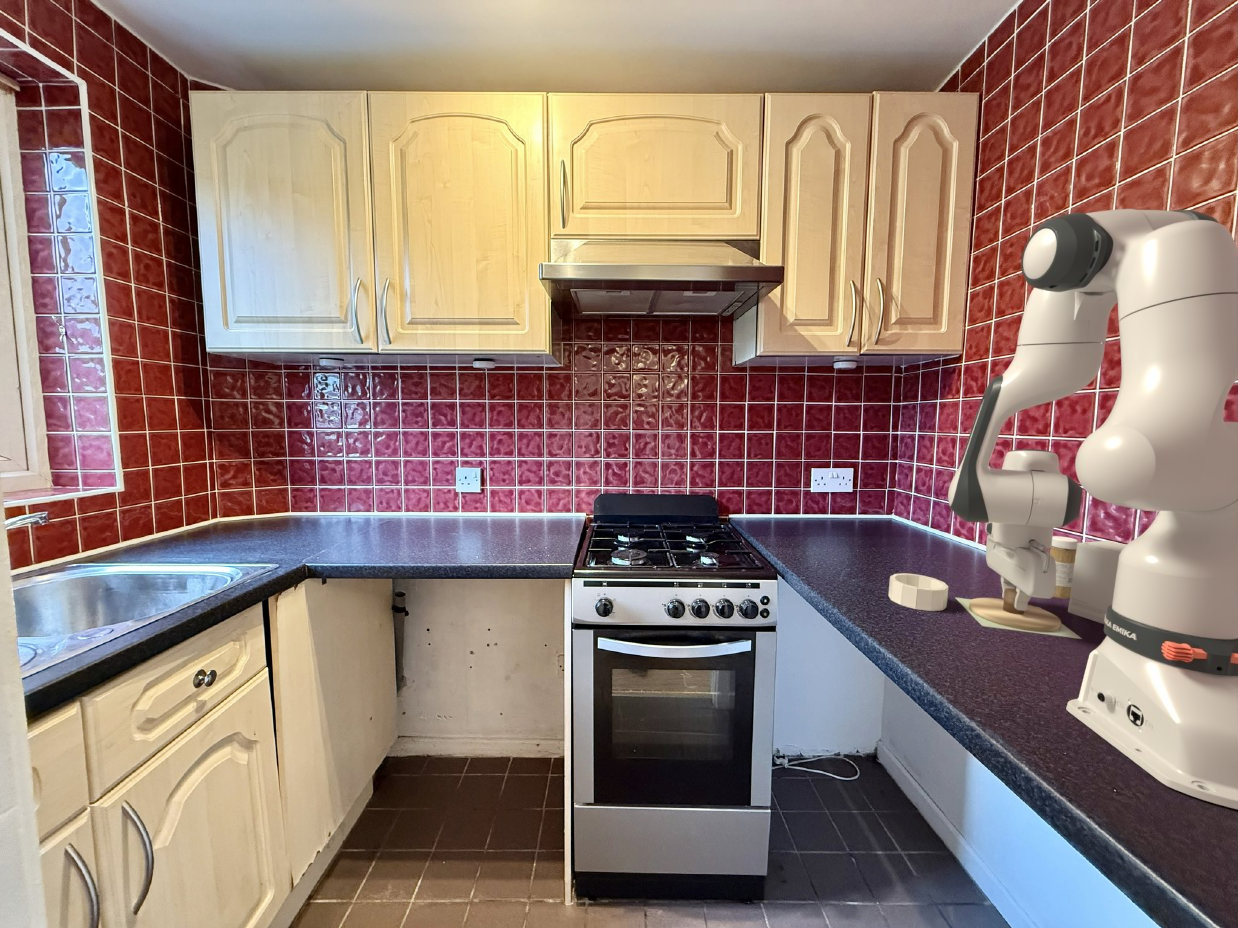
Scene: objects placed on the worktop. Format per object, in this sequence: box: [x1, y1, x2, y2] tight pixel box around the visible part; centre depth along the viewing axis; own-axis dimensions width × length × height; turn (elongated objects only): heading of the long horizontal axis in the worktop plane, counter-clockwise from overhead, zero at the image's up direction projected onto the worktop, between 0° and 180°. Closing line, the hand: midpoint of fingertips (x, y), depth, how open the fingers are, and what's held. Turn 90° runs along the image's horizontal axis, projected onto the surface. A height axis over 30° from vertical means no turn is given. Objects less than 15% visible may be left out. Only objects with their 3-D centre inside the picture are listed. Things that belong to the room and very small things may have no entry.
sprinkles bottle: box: [1049, 535, 1079, 600], centre depth 110 cm, size 5×5×13 cm
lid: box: [969, 588, 1062, 632], centre depth 98 cm, size 14×14×5 cm
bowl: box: [888, 572, 949, 612], centre depth 105 cm, size 10×10×5 cm
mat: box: [955, 597, 1083, 640], centre depth 98 cm, size 15×15×1 cm
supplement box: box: [1067, 540, 1127, 625], centre depth 98 cm, size 9×9×15 cm
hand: (1013, 604), depth 98 cm, fingers closed on lid, 3 cm apart
